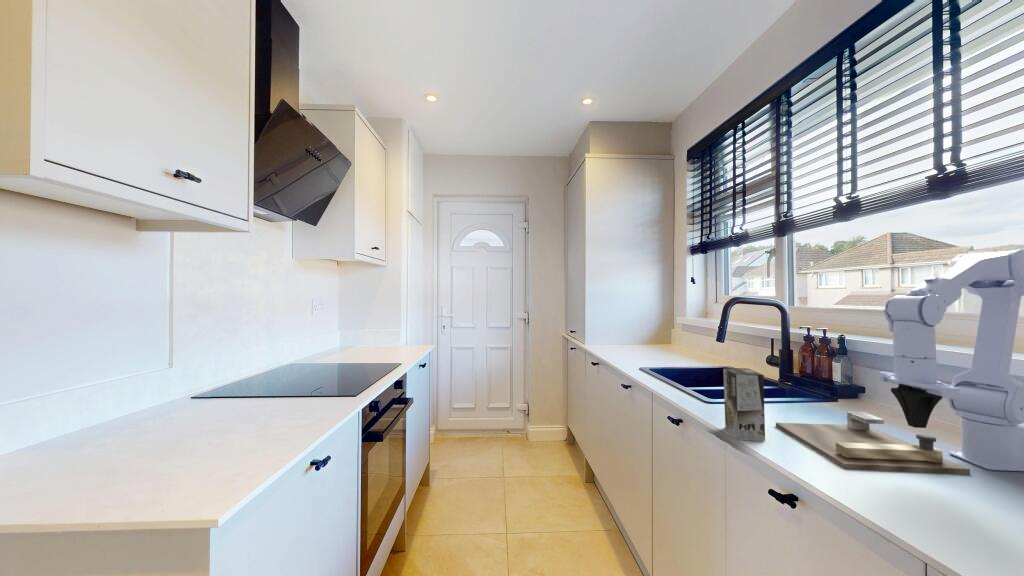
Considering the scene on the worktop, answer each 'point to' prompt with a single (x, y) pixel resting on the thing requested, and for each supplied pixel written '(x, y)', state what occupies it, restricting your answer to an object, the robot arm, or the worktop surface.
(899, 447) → the link
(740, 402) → the coffee box
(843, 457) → the base board
